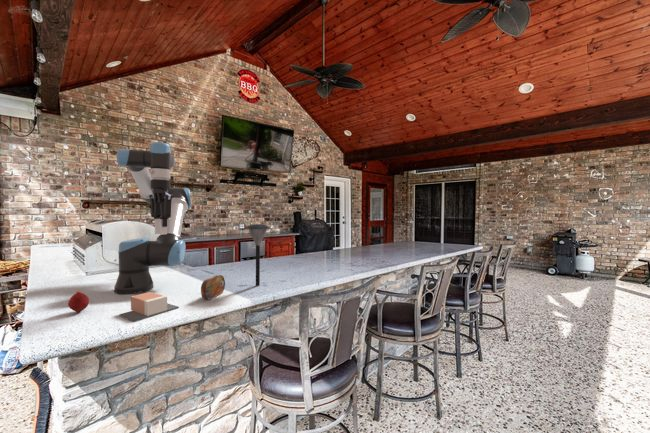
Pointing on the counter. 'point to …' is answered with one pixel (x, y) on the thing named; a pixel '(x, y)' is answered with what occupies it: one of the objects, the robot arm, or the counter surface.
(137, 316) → the mat
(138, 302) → the terracotta block
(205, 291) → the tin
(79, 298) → the onion
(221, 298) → the counter surface
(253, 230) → the solar garden light
